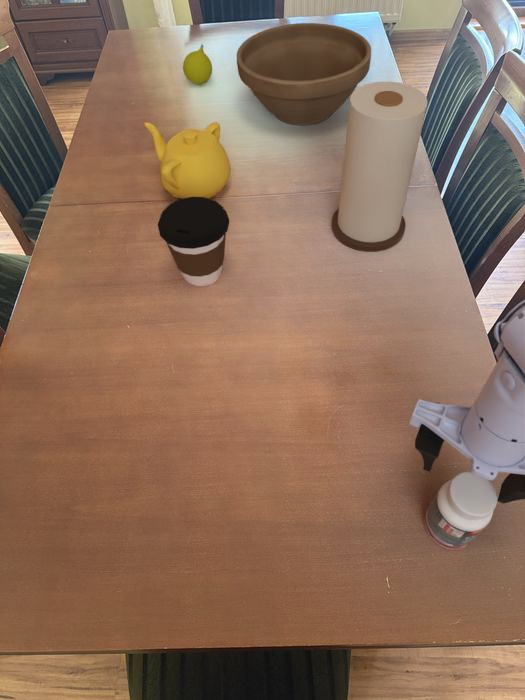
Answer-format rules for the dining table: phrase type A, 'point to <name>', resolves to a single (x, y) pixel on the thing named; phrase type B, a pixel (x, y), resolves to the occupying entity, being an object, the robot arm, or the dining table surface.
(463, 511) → the pill bottle
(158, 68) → the dining table surface
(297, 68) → the flower pot
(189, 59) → the yellow-green pear
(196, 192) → the teapot
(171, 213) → the coffee cup
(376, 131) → the paper towel roll
